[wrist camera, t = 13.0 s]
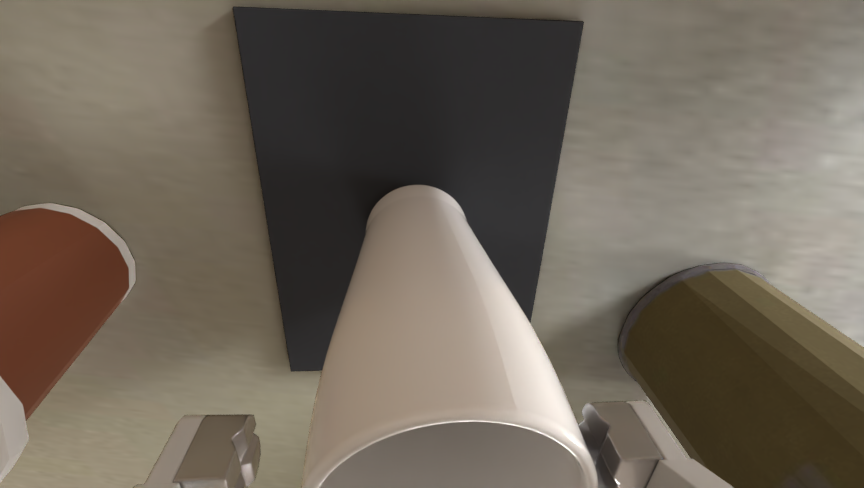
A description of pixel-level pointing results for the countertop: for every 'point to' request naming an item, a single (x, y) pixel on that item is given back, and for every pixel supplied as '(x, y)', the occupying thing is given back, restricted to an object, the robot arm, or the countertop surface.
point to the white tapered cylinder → (437, 368)
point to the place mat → (399, 139)
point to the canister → (749, 379)
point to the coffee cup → (51, 305)
